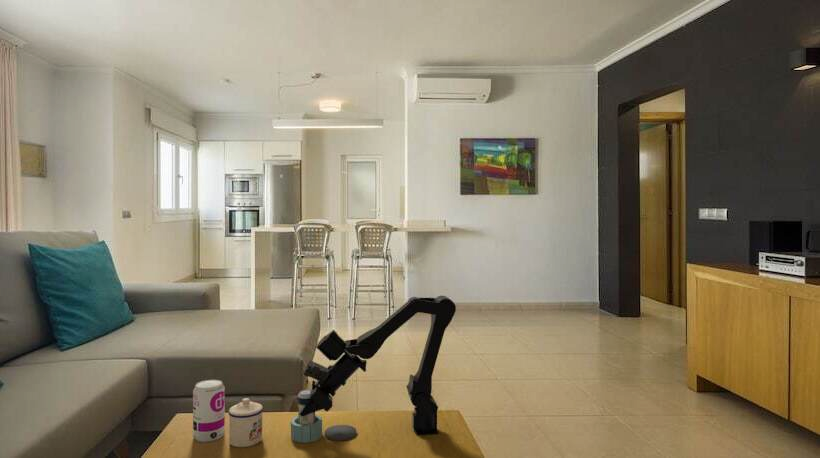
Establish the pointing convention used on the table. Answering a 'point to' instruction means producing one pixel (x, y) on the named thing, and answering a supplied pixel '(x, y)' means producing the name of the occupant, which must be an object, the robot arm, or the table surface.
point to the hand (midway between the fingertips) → (301, 411)
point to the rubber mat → (340, 432)
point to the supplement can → (208, 410)
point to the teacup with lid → (245, 423)
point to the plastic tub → (306, 430)
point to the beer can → (302, 401)
